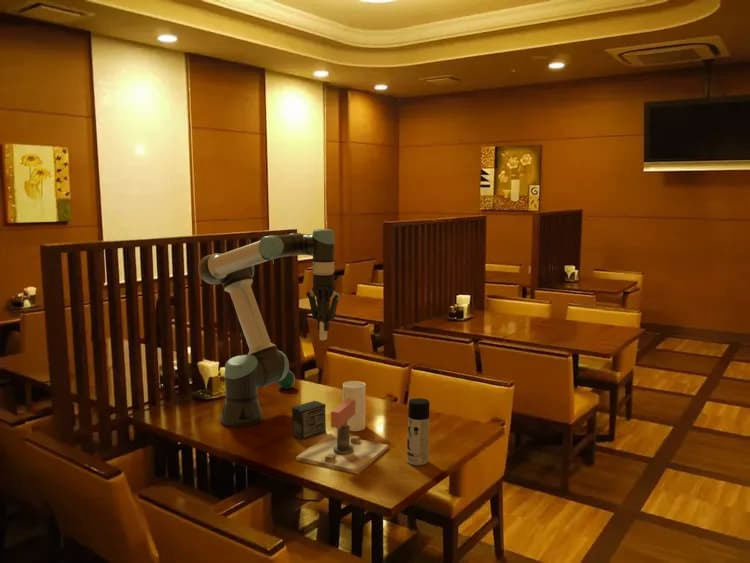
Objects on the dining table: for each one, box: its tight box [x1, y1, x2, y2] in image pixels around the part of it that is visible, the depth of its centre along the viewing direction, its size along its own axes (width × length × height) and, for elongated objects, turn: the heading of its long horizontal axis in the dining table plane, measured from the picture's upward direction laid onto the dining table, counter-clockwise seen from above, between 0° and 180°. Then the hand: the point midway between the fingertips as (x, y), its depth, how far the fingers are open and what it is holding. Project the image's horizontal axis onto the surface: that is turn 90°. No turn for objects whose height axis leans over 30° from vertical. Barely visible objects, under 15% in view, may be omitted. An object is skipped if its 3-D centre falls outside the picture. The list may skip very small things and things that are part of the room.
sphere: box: [276, 369, 296, 390], centre depth 274 cm, size 8×8×8 cm
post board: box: [295, 425, 389, 475], centre depth 206 cm, size 22×22×9 cm
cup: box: [342, 380, 367, 432], centre depth 230 cm, size 8×8×16 cm
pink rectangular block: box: [330, 398, 355, 429], centre depth 205 cm, size 14×3×7 cm, turn 160°
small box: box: [291, 400, 327, 441], centre depth 223 cm, size 11×6×10 cm, turn 135°
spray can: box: [406, 397, 431, 467], centre depth 201 cm, size 7×7×20 cm
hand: (323, 339), depth 226 cm, fingers closed
